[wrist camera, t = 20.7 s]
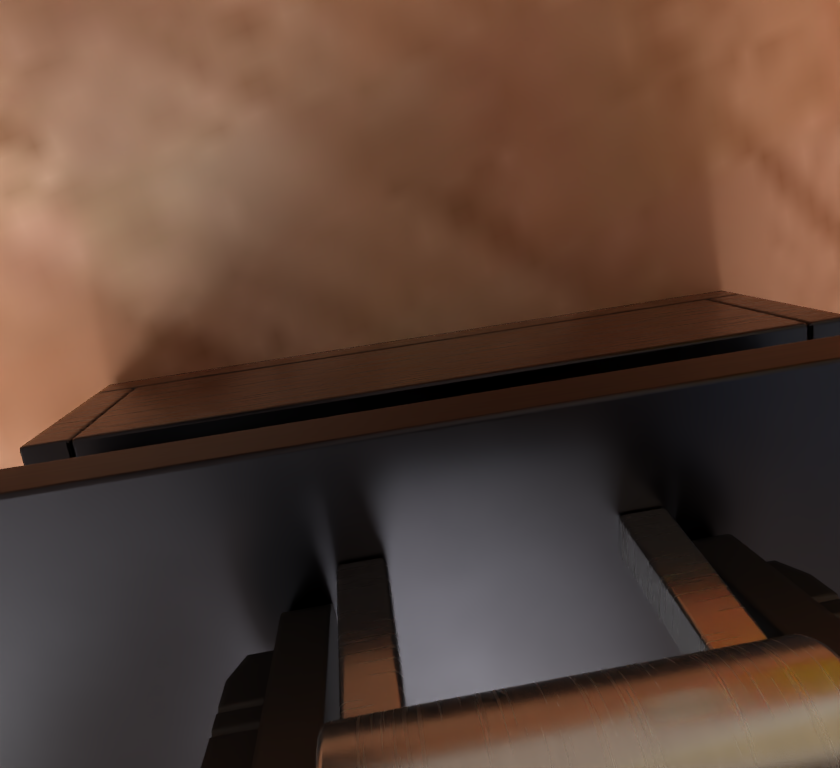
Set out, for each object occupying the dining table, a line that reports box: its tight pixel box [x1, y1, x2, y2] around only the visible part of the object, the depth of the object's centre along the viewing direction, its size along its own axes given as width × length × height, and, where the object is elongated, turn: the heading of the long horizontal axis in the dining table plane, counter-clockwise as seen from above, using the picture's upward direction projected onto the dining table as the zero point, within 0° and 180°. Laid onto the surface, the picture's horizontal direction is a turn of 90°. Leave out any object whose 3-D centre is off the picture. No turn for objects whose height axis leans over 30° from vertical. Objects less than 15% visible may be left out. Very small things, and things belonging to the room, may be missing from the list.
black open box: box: [20, 291, 840, 466], centre depth 18 cm, size 18×16×5 cm
